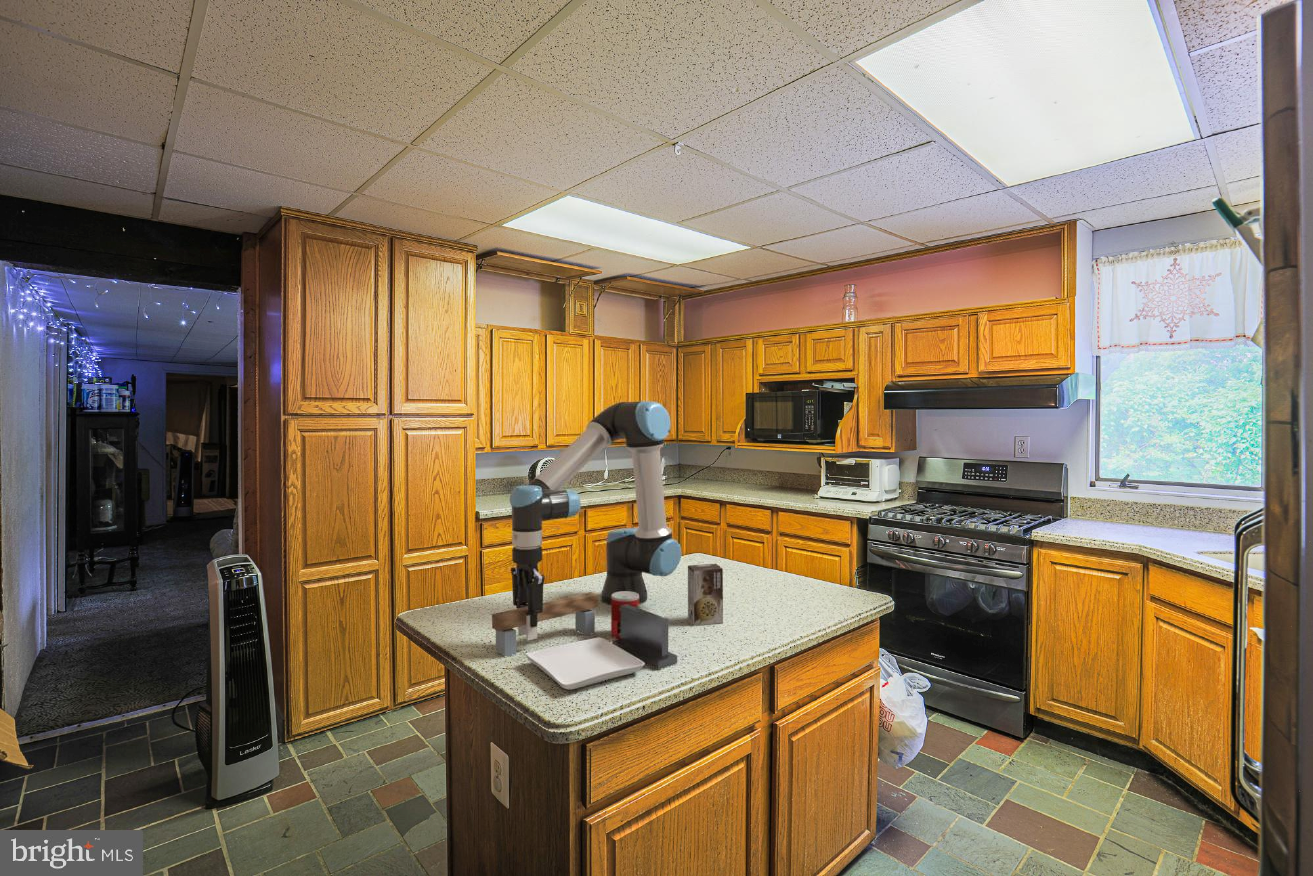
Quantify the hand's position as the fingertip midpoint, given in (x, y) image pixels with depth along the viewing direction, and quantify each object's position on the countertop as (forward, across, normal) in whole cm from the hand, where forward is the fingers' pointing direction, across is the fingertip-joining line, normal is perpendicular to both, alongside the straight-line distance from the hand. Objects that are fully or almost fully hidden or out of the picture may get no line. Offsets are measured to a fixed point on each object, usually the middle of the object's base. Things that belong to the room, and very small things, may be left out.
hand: (527, 636), depth 160 cm
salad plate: (+3, +22, +3) cm, 22 cm away
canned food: (+3, +9, +25) cm, 27 cm away
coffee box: (+3, +15, +50) cm, 52 cm away
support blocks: (+3, 0, +6) cm, 6 cm away
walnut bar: (-4, 0, +6) cm, 7 cm away
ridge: (+3, +24, +19) cm, 31 cm away
